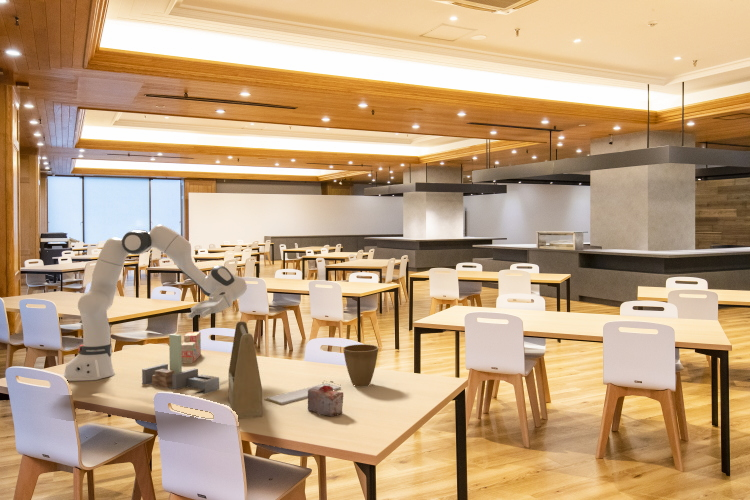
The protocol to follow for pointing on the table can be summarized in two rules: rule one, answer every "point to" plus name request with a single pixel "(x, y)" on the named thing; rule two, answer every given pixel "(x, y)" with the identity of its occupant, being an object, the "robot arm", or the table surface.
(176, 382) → the offcut rack
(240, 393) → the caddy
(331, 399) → the food item
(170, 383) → the offcut stack
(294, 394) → the baseboard molding
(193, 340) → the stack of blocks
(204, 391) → the steel holder
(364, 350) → the plant pot
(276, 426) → the table surface
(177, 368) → the tall panel
